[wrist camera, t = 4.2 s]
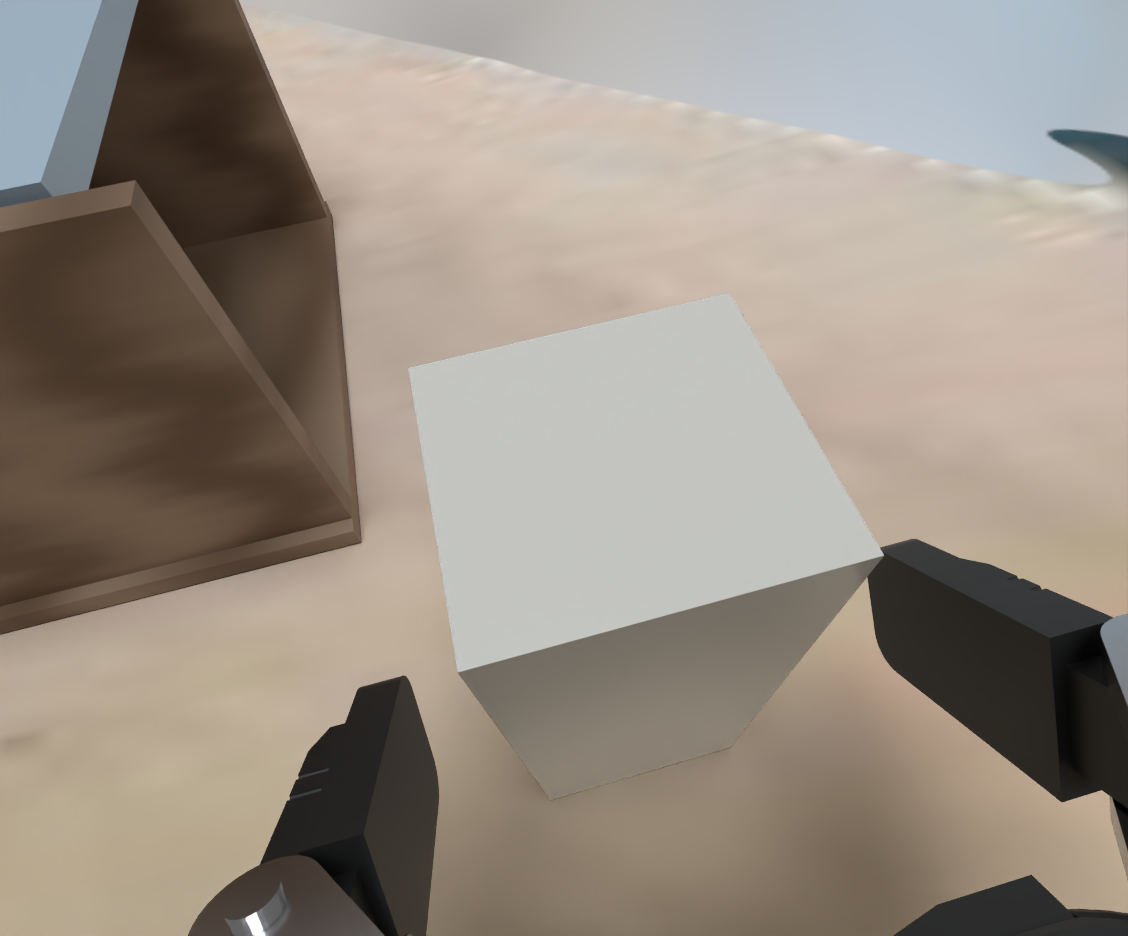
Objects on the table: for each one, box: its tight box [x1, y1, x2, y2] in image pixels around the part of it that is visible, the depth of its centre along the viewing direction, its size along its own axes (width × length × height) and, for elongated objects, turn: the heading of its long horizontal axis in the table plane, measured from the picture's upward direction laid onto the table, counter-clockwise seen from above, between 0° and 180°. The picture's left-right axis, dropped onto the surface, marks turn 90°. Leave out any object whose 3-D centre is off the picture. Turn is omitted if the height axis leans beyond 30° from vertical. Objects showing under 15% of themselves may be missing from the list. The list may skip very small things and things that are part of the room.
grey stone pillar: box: [408, 293, 884, 800], centre depth 14 cm, size 5×5×12 cm
